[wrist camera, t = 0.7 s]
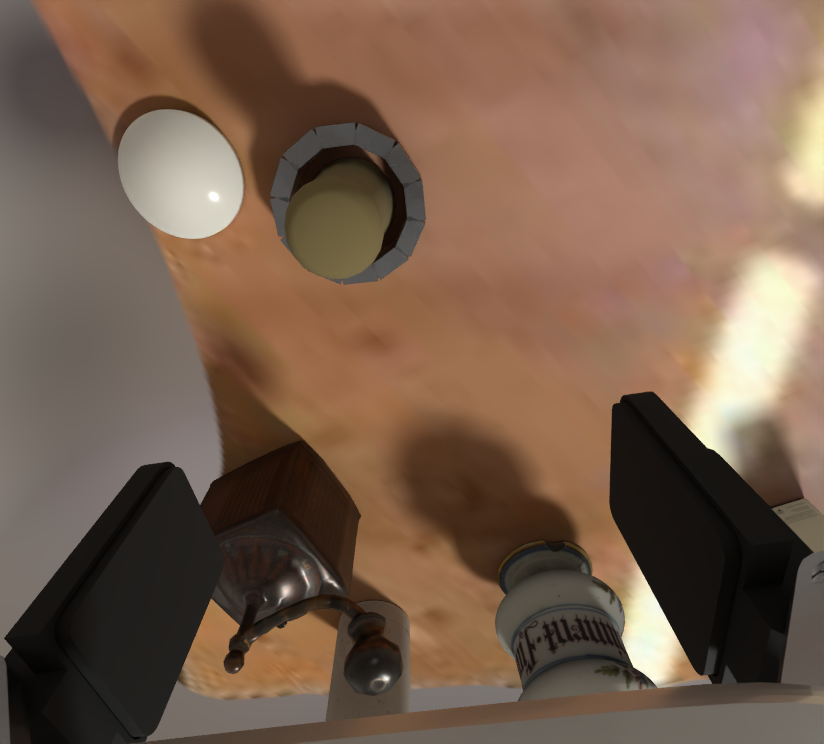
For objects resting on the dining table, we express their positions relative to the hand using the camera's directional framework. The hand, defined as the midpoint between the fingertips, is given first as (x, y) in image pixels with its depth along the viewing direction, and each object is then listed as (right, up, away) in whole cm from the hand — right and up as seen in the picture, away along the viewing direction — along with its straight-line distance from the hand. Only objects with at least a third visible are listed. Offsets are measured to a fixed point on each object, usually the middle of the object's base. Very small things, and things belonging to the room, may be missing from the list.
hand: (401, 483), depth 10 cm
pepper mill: (-9, -9, +35) cm, 37 cm away
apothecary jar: (+14, -19, +40) cm, 47 cm away
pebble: (-15, +16, +22) cm, 31 cm away
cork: (-4, +14, +23) cm, 28 cm away
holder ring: (-4, +14, +23) cm, 27 cm away
